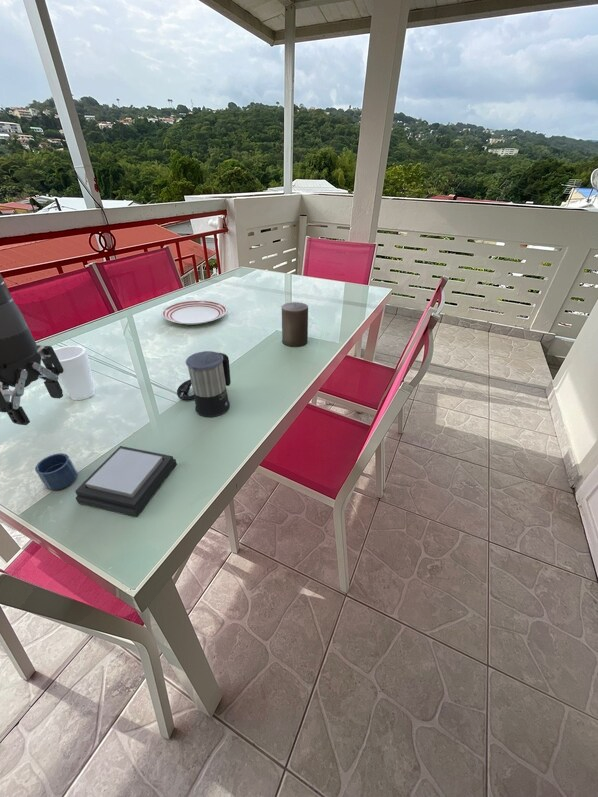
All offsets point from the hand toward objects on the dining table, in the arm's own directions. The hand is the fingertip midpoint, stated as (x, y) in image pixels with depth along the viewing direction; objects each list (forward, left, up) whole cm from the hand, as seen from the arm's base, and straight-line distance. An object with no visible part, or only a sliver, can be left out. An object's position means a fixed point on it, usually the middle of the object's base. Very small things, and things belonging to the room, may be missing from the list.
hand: (41, 409), depth 63 cm
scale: (-1, -15, -15) cm, 22 cm away
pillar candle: (+74, -31, -16) cm, 82 cm away
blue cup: (-4, -1, -15) cm, 16 cm away
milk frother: (+29, -16, -16) cm, 37 cm away
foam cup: (+24, +19, -16) cm, 34 cm away
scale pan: (-1, -15, -13) cm, 20 cm away
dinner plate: (+87, +17, -16) cm, 90 cm away
